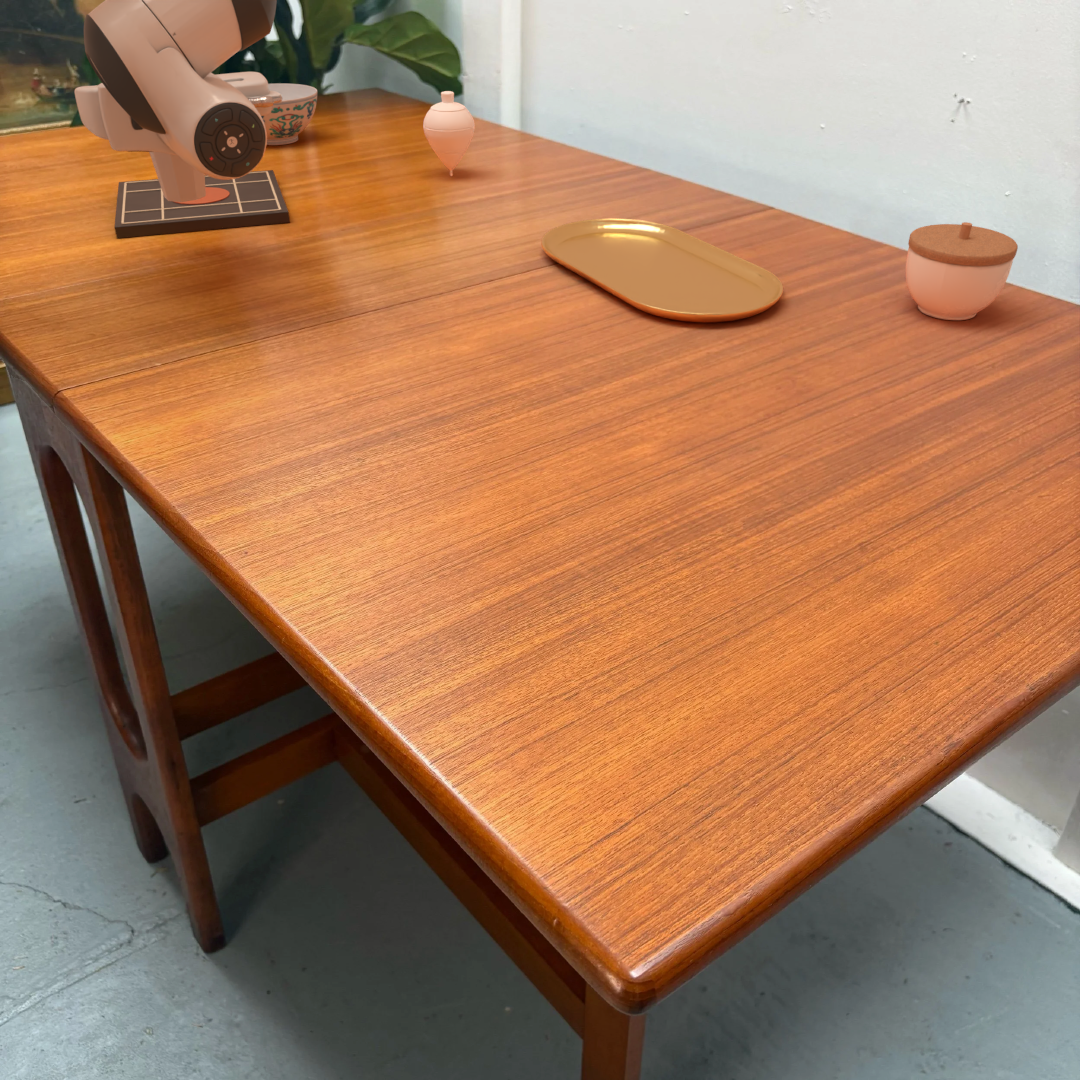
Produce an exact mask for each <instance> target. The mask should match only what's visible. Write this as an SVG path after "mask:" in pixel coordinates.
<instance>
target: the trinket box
mask: <svg viewBox="0 0 1080 1080" xmlns="http://www.w3.org/2000/svg"><path fill="white" fill-rule="evenodd" d="M907 245H908V249H907V254H906V259H905V271H904V272H905V283H906V288H907V290H908V293H909V295H910V296H911V298H912V300H913V301H914V302H915V304H916V305H917V309H918V311H920V312H921V313H922V314H924V315H927V316H929V317H931V318H936V319H939V320H946V321H965V320H969V319H973V318H975V317H976V315H977V314H978V313H979V312H981V311H983V310H984V309H986V308H988V307H989V306H990V305H991V304H992V303H993V302H994V301H995V300H996V299H997V298H998V296H999V295H1000V294H1001V292H1002V291H1003V288H1004V286H1005V285H1006V282H1007V280H1008V278H1009V275H1010V273H1011V270H1012V266H1013V262H1014V259H1015V257H1016V255H1017V252H1018V243H1017V241H1015V240H1014V238H1012V237H1010V236H1009V235H1006V234H1005V233H1002V232H999V231H997V230H993V229H991V228H990V229H989V228H986V227H982V226H981V227H980V226H975V225H973V223H971V222H967V221H965V222H961V224H954V223H943V224H942V223H939V224H930V225H924V226H920V227H918V228H916V229H914V230H912V231H911V233H910V234H909V238H908V243H907Z"/></svg>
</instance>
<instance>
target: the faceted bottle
mask: <svg viewBox="0 0 1080 1080" xmlns="http://www.w3.org/2000/svg"><path fill="white" fill-rule="evenodd" d="M148 153H149V155H150V158H151V161H152V165H153V168H154V171H155V174H156V176H157V179H158V180H159V183H160V186H161V189H162V192H163V195H164V197H165V198H166V199H167V200H168V201H175V202H186V201H193V200H198V199H200V198H202V197H204V196H206V190H205V174H203V173H201V172H199V171H197V170H196V169H194V168H193V167H191V166H190V165H188V164H187V163H186V162H185V161H183V160H182V159H181V158H180V157H179V156H177V155H171V154H166V153H161V152H148Z"/></svg>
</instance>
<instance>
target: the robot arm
mask: <svg viewBox="0 0 1080 1080" xmlns="http://www.w3.org/2000/svg"><path fill="white" fill-rule="evenodd" d="M277 1H278V0H104V1H102V2H100V3H99V4H98V5H97V6H96V7H94V8H93V9H92V10H91V11H90V12H89V13H88V14H87V13H86V14H85V17H84V21H83V22H84V23H83V43H84V52H85V56H86V59H87V60H88V62H89V64H90V67H91V68H92V70H93V71H94V73H95V75H96V76H97V78H98V79H99V80H100V83H99V84H97V85H81V86H77V87H76V88H75V89H74V97H75V102H76V107H77V110H78V114H79V118H80V121H81V123H82V124H83V126H84V127H85V128H86V130H88V131H89V132H90V133H91V134H93V135H94V136H96V137H98V138H99V139H103V140H107V141H108V143H109V145H110V147H111V149H112V150H113V151H116V152H128V153H129V152H131V153H132V152H136V153H137V152H139V153H140V152H143V153H146V152H147V153H149V152H161V153H166V154H171V155H177V156H179V157H180V158H181V159H182V160H183V161H185V162H186V163H187V164H188V165H190V166H191V167H193V168H194V169H196V170H197V171H199V172H201V173H203V174H205V175H207V176H210V177H213V178H216V179H221V180H230V179H236V178H239V177H242V176H245V175H246V174H248V173H250V172H253V171H254V170H255V168H256V167H258V166H259V164H260V163H261V161H262V159H263V157H264V156H265V153H266V149H267V146H268V145H267V131H266V127H265V124H264V121H263V119H262V117H261V116H264V115H268V114H269V113H271V110H272V108H271V106H273V104H275V103H281V102H282V96H281V94H280V93H278V92H276V91H269V87H268V84H269V81H268V79H267V78H266V77H265V76H264V75H263V73H261V72H258V71H240V72H229V73H220V74H219V73H218V74H215V73H213V72H214V71H215V70H216V69H217V68H219V67H220V66H221V65H223V64H224V63H225V62H227V61H228V60H229V59H230V58H231V57H233V56H235V54H236V53H238V52H242V51H244V50H246V49H247V48H248V47H250V46H252V45H253V44H256V43H257V42H259V41H261V40H262V39H263V38H265V37H266V36H268V35H269V34H271V30H273V29H272V28H273V25H274V21H275V17H276V10H277V3H278V2H277Z"/></svg>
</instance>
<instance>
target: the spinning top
mask: <svg viewBox="0 0 1080 1080" xmlns="http://www.w3.org/2000/svg"><path fill="white" fill-rule="evenodd" d="M440 97H441V101H440V102H437V103H434V104H433V105H431V106H430V108H429V110H428V111H427V112H426V114H425V115H424V118H423V123H422V127H423V133H424V137H425V139H426V140H427V142H428V144H429V146H430V148H431V149H432V151H433V152H434V153H435V155H436V156H437V158H438V159H439V160H440V162H441V163H442V165H444V166H445V168H446V169H447V170H449V176H450V177H453V175H454V173H453V170H454V169H455V168H456V167H457V166H458V164H459V163H460V162H461V161H462V159H463V157H464V156H465V154H466V153H467V150H468V148H469V146H470V144H471V142H472V140H473V137H474V135H475V127H476V126H475V125H476V124H475V120H474V117H473V115H472V113H471V112H470V111H469V109H468V108H467V107H466V106H465V105H464V104H462V103H460V102H457V101H454V100H455V92H454V91H451V90H445V91H441V92H440Z"/></svg>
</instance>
